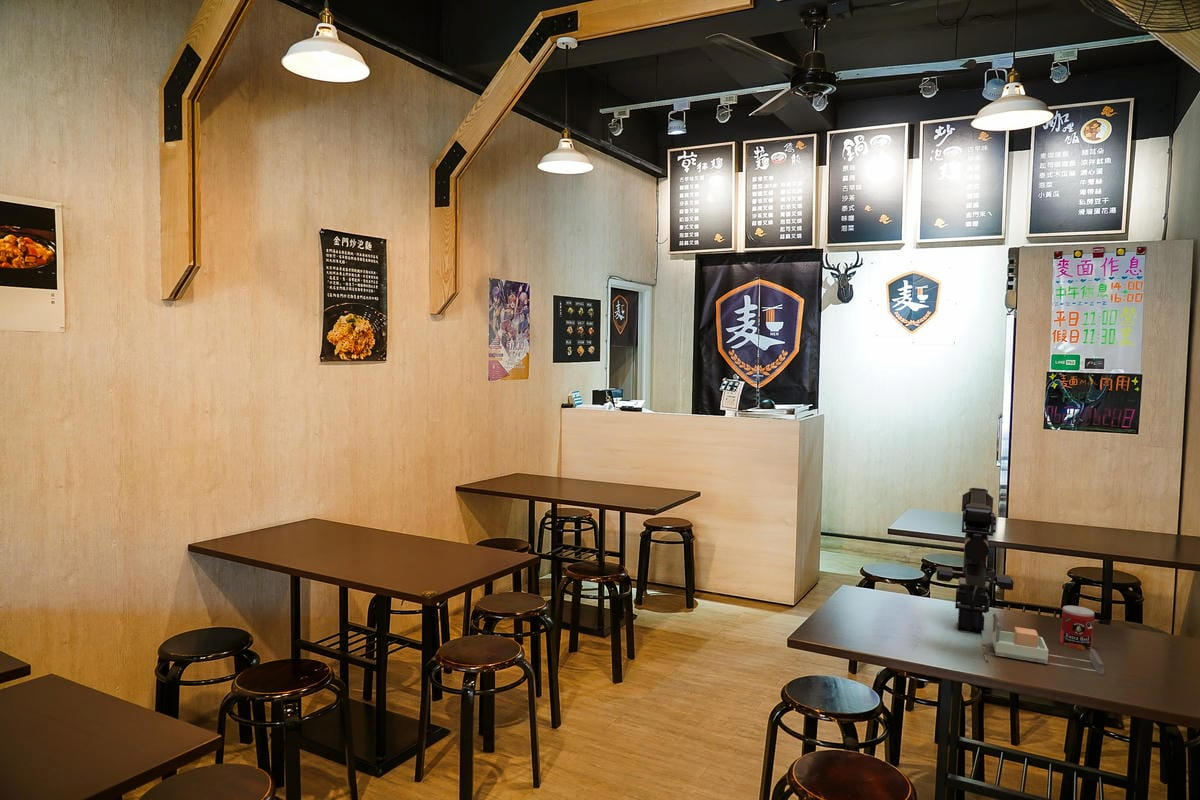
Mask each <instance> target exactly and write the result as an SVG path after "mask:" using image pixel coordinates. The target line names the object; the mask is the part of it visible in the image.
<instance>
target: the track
mask: <svg viewBox="0 0 1200 800" xmlns="http://www.w3.org/2000/svg"><path fill="white" fill-rule="evenodd" d="M980 643H981V647H982V652H983V657H984V661H985V663H986V662H987V663H988V664H989V662H990V661H989V659H988V655H993V656H996V655H995V653H993V652H992V653H991V652H988V651H987V649H986V646H988V647H993V644H986V643H985V641H984V639H981V640H980ZM1050 656H1051V657H1054V658H1055V657H1056V658H1062V659H1067V660H1068V659H1069V660H1075V661H1081V662H1085V663H1087V662H1088V663H1091V664H1092V666H1093V668H1094V669H1091V668H1086V667H1085V668H1084V667H1078V666H1072V665H1066V664H1059V663H1054V662H1047V665H1048V664H1049V665H1054V666H1060V667H1066V668H1073V669H1078V670H1084V671H1091V672H1096V673H1097V675H1098V676H1104V672H1105V671H1104V670H1105V669H1104V668H1105V664H1104V662H1103V661H1102V659H1101V658H1100V656H1099V654H1098V653H1097V651H1096V649H1094V648H1091V649H1089V656H1088V658H1089V659H1088V660H1086V659H1081V658H1074V657H1069V656H1061V655H1056V654H1055V655H1054V654H1049V653H1048V657H1050Z"/></svg>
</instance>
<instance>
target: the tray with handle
mask: <svg viewBox="0 0 1200 800" xmlns="http://www.w3.org/2000/svg"><path fill="white" fill-rule="evenodd" d="M992 618H993V619H992V620H993V623H992V639H991V643H992V645H993V646H992V647H993V651H994V654H995V655H994V656H997V657H1000V658H1004V657H1005V658H1011V659H1016V660H1021V661H1029V662H1034V663H1038V664H1041V665H1042V664H1047V662H1048V661H1049V660H1048V659H1049V655H1048V654H1049V648H1048V647H1047V644H1046V643H1045V640H1044V638H1043V637H1042V636H1038V647H1037V648H1033V647H1027V646H1020V645H1014V632H1011V631H1002V630H1001V629H1002V625H1001V622H1000V618H999V616H998V614H997V613H995V612H994V613H993V614H992ZM1048 663H1049V662H1048ZM1047 665H1048V664H1047Z"/></svg>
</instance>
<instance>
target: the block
mask: <svg viewBox="0 0 1200 800" xmlns="http://www.w3.org/2000/svg"><path fill="white" fill-rule="evenodd" d="M1013 633H1014V645H1020V646H1027V647H1033V648H1037V647H1038V637H1039V634H1038V632H1037V630H1036V629H1032V628H1026V627H1025V628H1024V627H1018V626H1014V632H1013Z"/></svg>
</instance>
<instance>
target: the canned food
mask: <svg viewBox="0 0 1200 800" xmlns="http://www.w3.org/2000/svg"><path fill="white" fill-rule="evenodd" d="M1061 611H1062V613H1061V625H1060V627H1061V628H1060V640H1059V641H1060V644H1062V645H1064V646H1065V647H1069V648H1071V649H1075V650H1076V649H1077V650H1083V651H1086V650H1090V649H1093V638H1094V627H1095V611H1094V610H1092V609H1090V608H1087V607H1083V606H1078V605H1077V606H1076V605H1064V606H1063V607H1062V610H1061Z"/></svg>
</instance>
